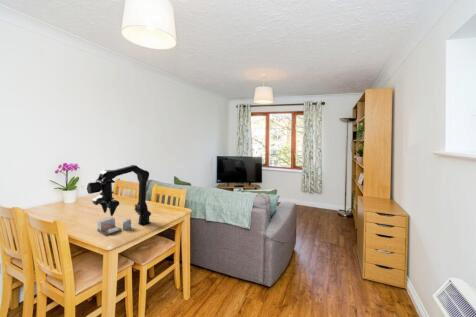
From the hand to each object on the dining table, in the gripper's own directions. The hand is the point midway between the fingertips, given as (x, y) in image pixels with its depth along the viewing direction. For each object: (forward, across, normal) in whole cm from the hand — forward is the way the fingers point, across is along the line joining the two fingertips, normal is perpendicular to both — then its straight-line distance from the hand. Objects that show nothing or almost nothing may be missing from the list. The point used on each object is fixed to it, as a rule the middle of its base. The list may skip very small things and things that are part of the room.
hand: (108, 214), depth 148 cm
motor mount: (+14, -6, +2) cm, 15 cm away
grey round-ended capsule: (+14, 0, +11) cm, 18 cm away
